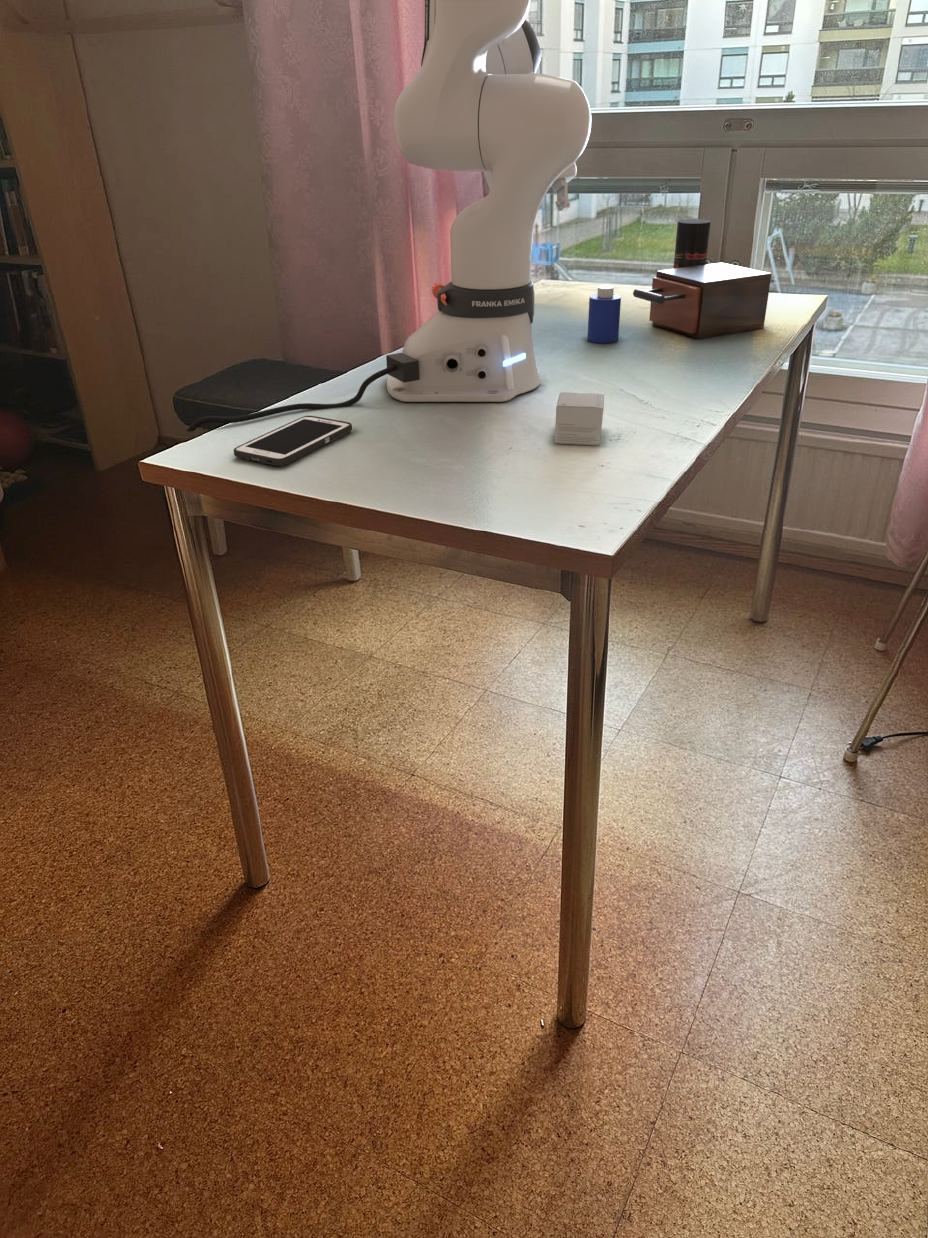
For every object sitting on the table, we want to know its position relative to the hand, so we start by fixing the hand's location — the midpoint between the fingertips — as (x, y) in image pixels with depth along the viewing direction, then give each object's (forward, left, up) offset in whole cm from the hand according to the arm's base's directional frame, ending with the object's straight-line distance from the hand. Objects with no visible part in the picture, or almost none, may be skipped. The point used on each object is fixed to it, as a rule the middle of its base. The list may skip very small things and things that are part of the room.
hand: (548, 211), depth 151 cm
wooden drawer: (+24, -5, -18) cm, 31 cm away
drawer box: (+28, -3, -19) cm, 35 cm away
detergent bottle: (+8, -9, -19) cm, 23 cm away
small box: (-8, -55, -19) cm, 59 cm away
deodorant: (+30, +14, -19) cm, 39 cm away
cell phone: (-43, -51, -19) cm, 69 cm away
